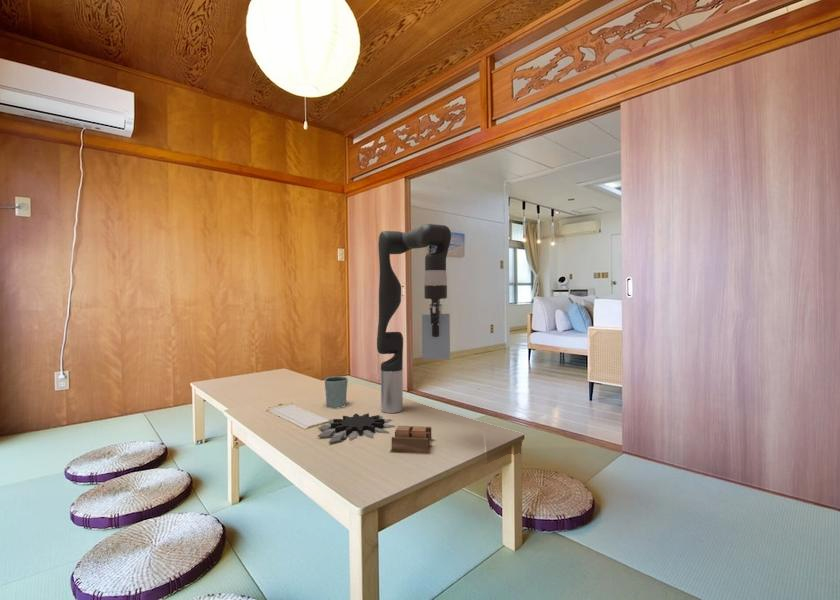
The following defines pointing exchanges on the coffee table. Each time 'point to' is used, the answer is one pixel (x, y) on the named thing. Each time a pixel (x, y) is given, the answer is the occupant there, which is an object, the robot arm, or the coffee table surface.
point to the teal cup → (336, 391)
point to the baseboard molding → (299, 416)
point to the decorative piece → (354, 427)
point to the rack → (412, 443)
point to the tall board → (436, 338)
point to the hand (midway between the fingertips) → (436, 335)
